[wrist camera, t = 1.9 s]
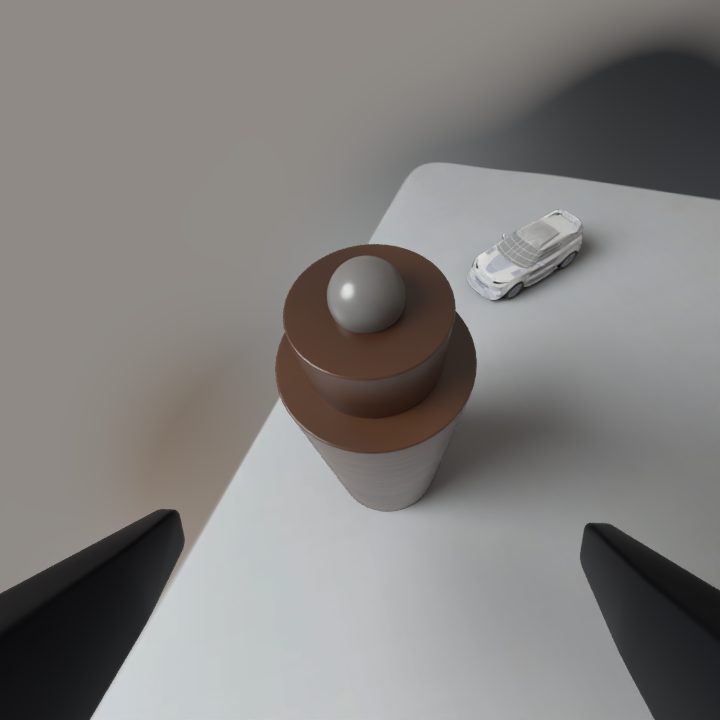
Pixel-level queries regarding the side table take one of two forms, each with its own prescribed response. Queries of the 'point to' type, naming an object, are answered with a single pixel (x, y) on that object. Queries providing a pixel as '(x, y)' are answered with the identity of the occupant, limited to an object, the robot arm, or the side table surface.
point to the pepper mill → (376, 369)
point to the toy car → (527, 255)
